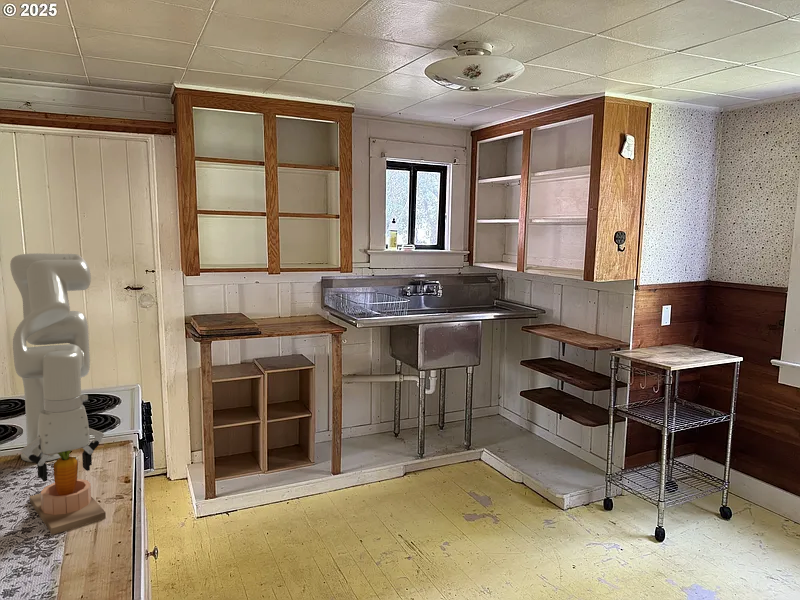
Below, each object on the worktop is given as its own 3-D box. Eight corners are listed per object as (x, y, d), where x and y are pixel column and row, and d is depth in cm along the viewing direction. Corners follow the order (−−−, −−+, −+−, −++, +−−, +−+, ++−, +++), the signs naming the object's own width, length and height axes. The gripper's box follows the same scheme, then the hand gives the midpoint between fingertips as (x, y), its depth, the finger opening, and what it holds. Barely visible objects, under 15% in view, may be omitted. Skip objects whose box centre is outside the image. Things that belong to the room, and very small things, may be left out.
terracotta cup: (37, 503, 133) (36, 487, 133) (83, 490, 140) (82, 475, 140) (48, 519, 126) (47, 502, 126) (96, 504, 133) (95, 489, 133)
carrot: (67, 510, 130) (65, 449, 128) (49, 506, 131) (47, 446, 129) (83, 500, 135) (82, 441, 133) (66, 497, 136) (64, 438, 134)
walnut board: (29, 502, 136) (29, 496, 136) (79, 488, 144) (79, 483, 144) (51, 534, 122) (51, 528, 122) (105, 518, 130) (105, 512, 130)
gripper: (98, 393, 139) (99, 459, 141) (15, 406, 127) (18, 479, 129) (108, 400, 134) (110, 469, 136) (23, 415, 121) (26, 490, 123)
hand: (65, 473), depth 132 cm, fingers open, 8 cm apart
